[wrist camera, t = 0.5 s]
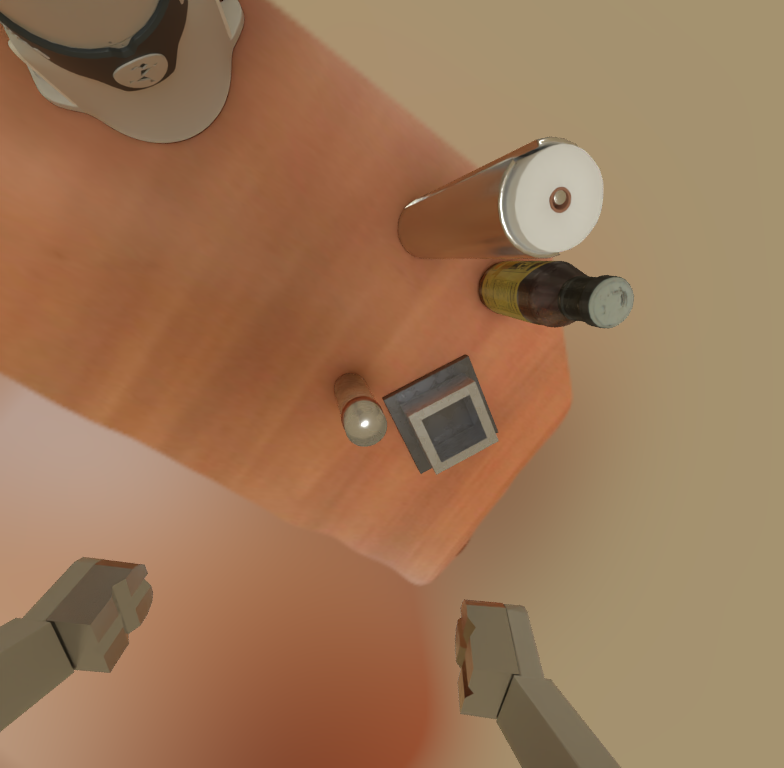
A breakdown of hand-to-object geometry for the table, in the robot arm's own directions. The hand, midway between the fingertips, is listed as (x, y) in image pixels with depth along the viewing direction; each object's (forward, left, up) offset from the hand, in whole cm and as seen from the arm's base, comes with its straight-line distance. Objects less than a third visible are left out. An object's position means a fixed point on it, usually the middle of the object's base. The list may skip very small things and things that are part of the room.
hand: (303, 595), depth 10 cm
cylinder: (+9, +2, -38) cm, 39 cm away
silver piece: (-4, +18, -38) cm, 43 cm away
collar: (+18, +11, -38) cm, 44 cm away
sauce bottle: (+6, +24, -38) cm, 46 cm away
